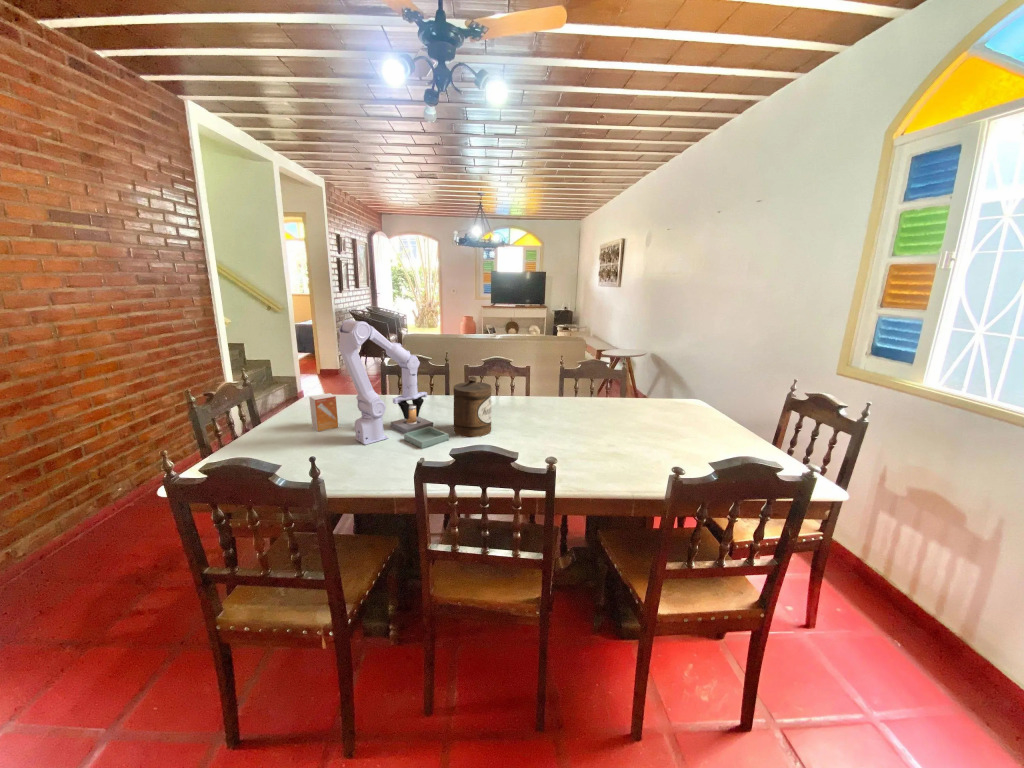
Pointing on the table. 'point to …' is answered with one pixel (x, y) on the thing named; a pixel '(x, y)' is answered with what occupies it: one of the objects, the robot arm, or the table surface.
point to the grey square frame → (406, 428)
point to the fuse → (412, 415)
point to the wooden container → (472, 408)
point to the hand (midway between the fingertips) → (411, 417)
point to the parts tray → (426, 437)
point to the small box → (323, 412)
